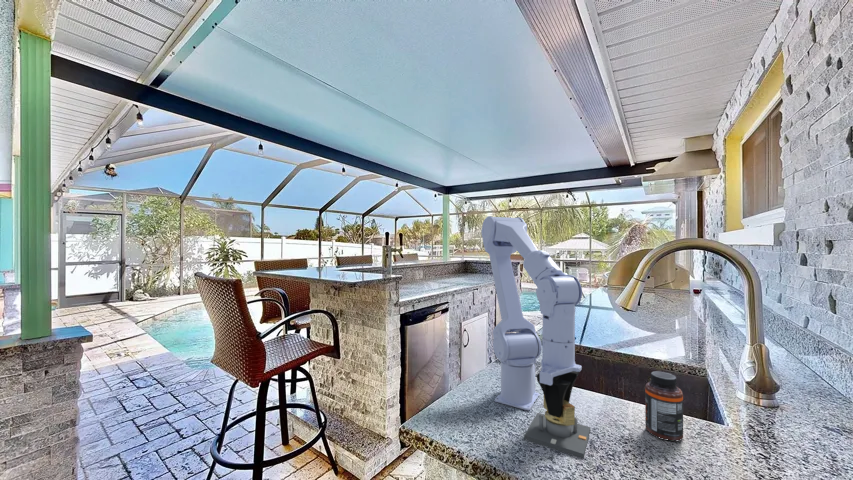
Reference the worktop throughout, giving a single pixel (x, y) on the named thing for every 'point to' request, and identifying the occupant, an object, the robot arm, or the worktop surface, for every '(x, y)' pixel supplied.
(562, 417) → the lever handle
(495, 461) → the worktop surface
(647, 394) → the supplement bottle
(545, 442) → the post base
